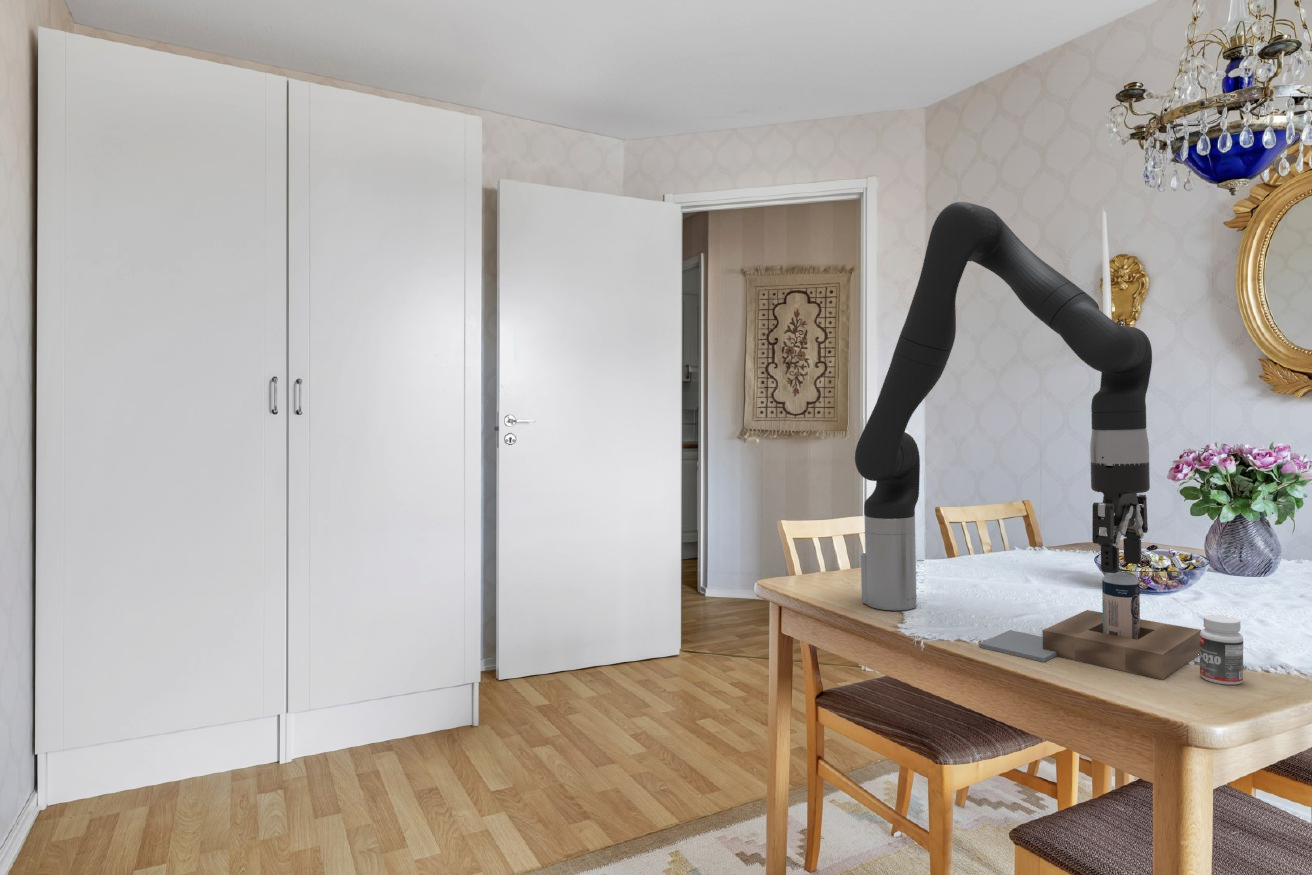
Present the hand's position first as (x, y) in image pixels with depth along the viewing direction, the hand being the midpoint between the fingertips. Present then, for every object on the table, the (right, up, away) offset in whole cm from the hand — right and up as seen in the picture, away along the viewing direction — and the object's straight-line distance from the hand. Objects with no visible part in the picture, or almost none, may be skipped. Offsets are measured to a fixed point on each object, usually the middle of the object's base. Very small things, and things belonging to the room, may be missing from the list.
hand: (1121, 567), depth 115 cm
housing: (0, -13, +1) cm, 13 cm away
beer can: (0, -13, +1) cm, 13 cm away
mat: (-12, -13, +5) cm, 19 cm away
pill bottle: (+7, -14, -11) cm, 19 cm away
